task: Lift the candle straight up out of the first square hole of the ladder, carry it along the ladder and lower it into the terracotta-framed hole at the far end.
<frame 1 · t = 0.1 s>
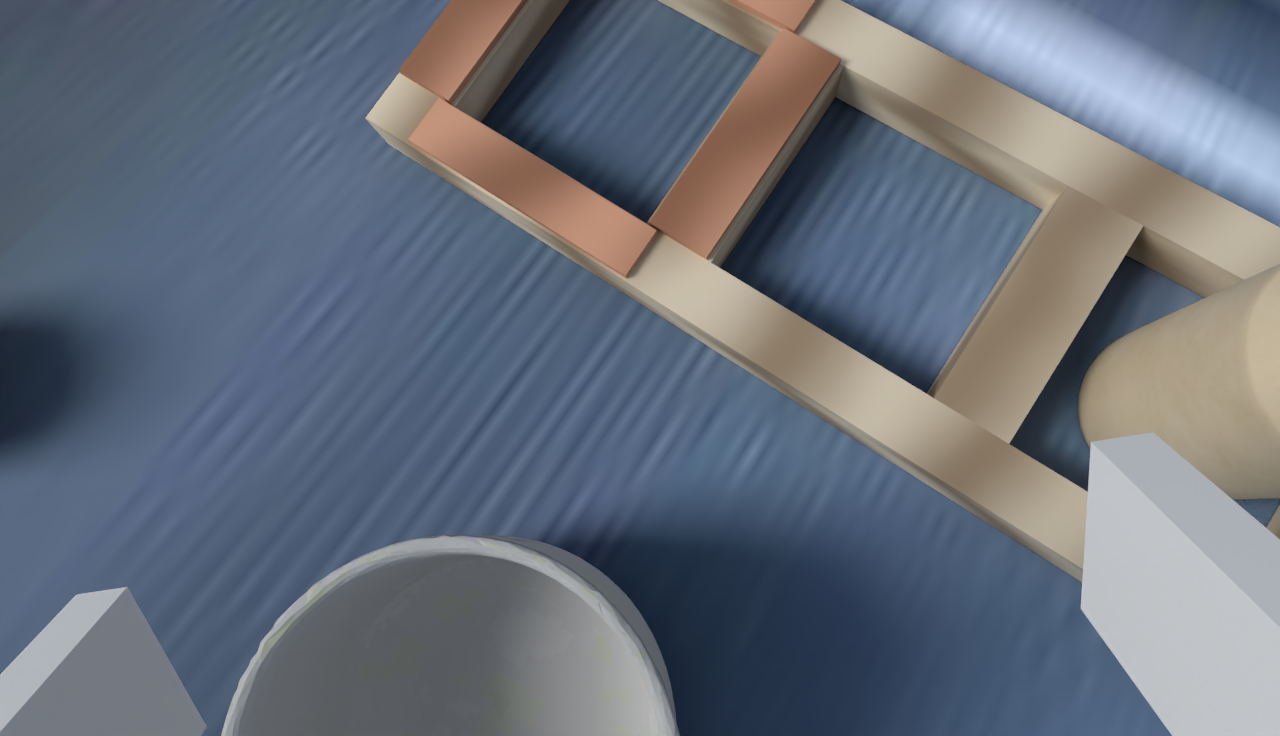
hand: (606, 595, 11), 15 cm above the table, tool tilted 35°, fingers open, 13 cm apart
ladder: (875, 245, 27), on the table
teacup: (489, 732, 26), on the table
candle: (1162, 414, 25), resting in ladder
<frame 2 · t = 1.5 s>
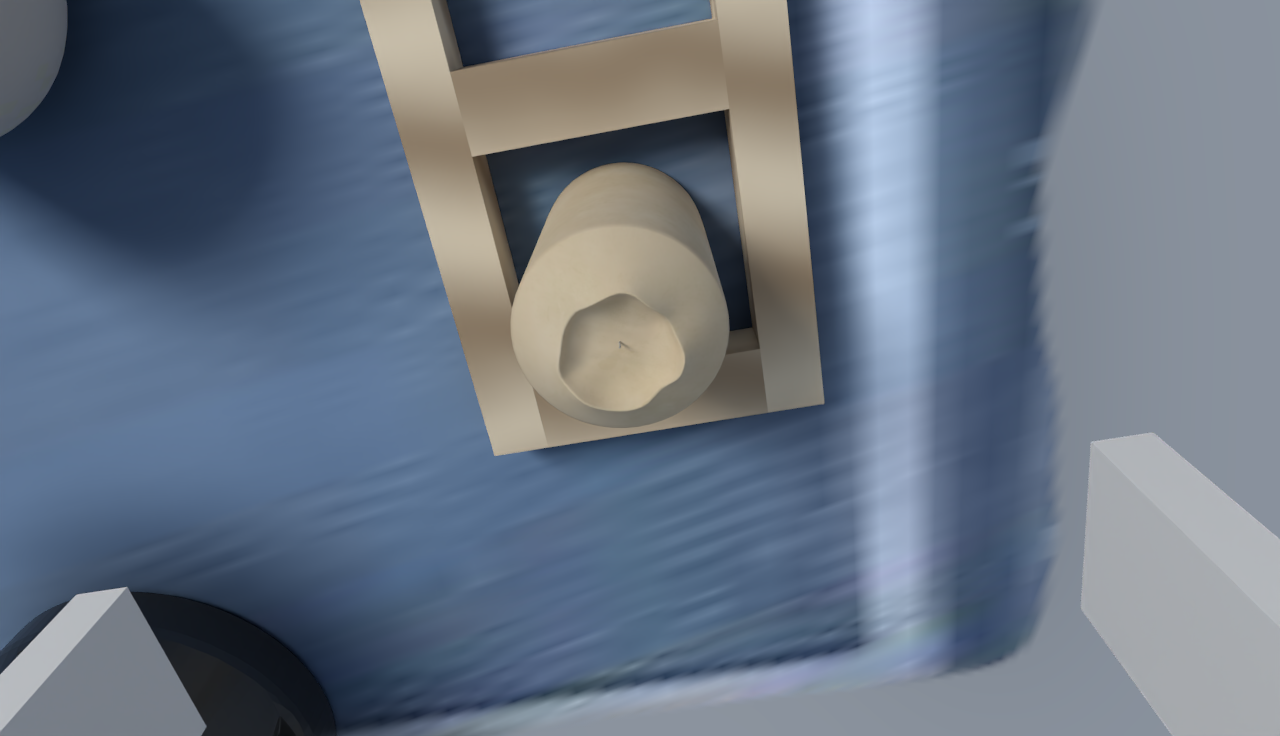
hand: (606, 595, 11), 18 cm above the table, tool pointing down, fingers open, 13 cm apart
candle: (624, 238, 28), resting in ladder
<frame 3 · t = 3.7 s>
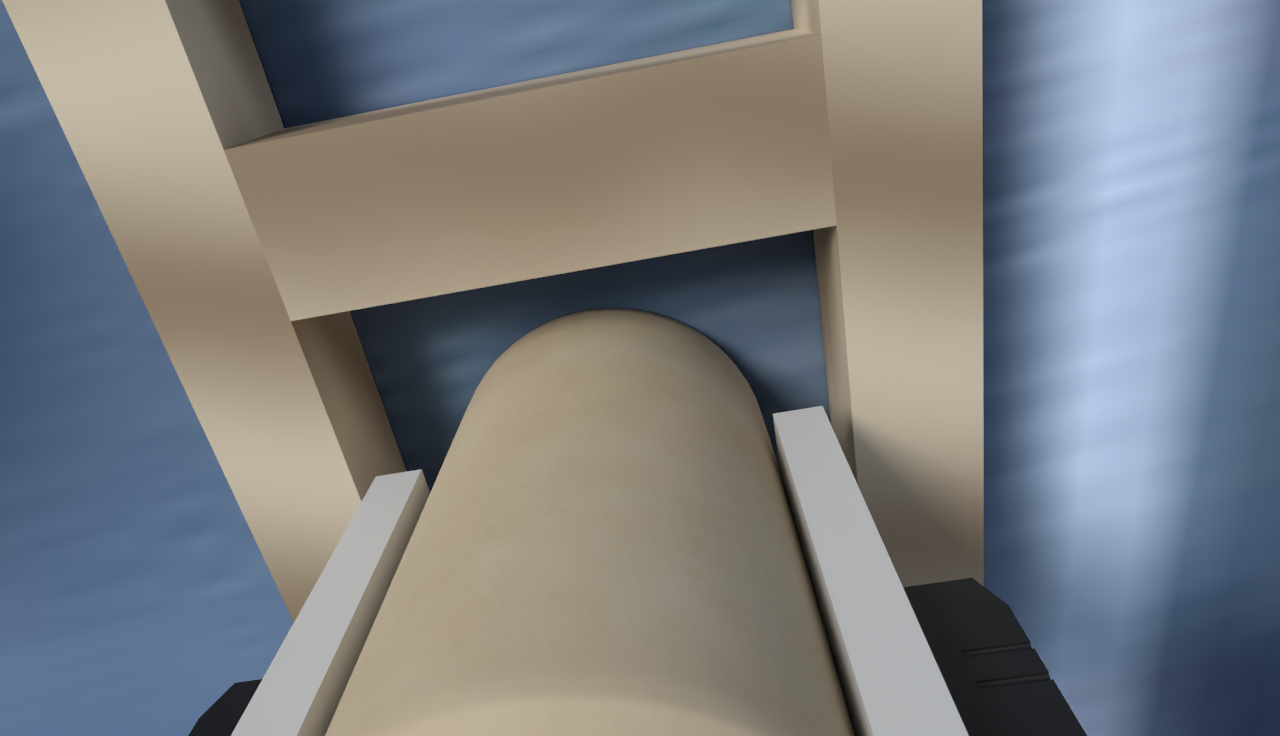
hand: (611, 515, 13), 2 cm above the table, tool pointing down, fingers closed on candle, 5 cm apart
candle: (616, 436, 15), resting in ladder, touching gripper
when the fingers open (3 cm above the table, at t = 9.1 s): candle stays where it is, resting in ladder.
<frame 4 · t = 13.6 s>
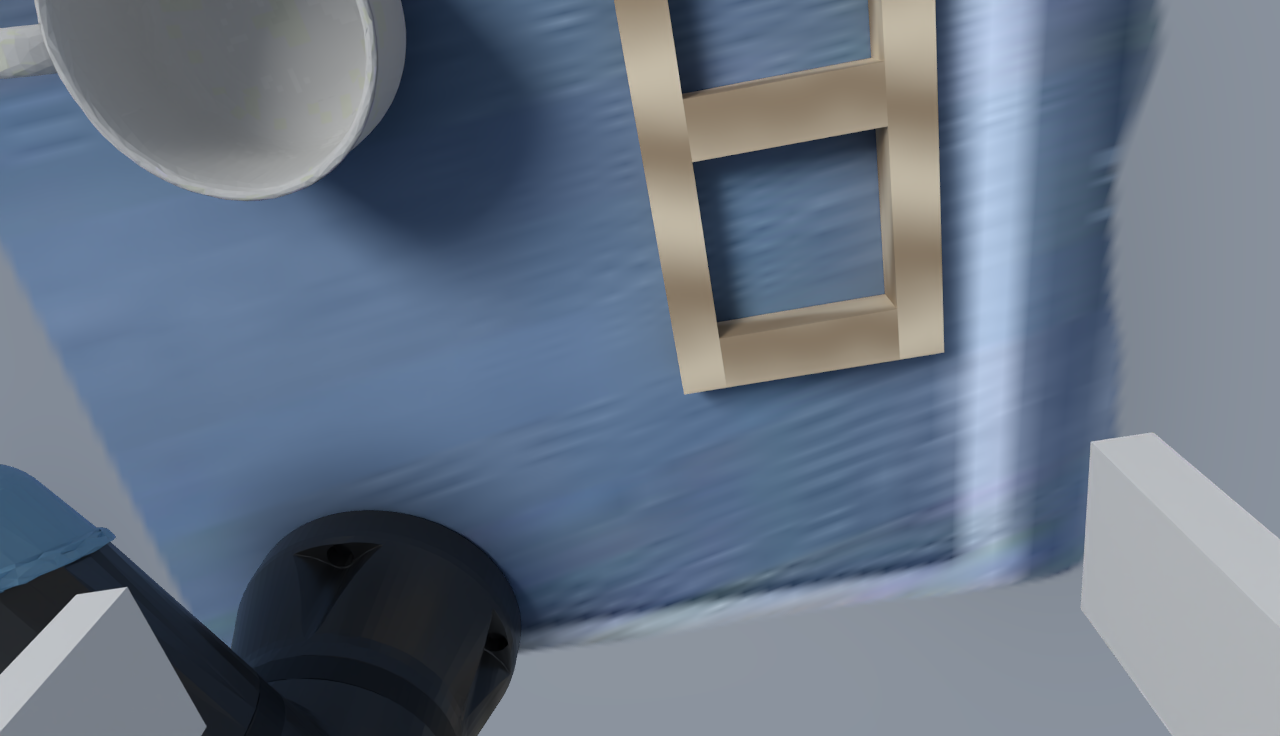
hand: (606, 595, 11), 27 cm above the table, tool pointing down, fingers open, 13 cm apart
teacup: (262, 23, 33), on the table
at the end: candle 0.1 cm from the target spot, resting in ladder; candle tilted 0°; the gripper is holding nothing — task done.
